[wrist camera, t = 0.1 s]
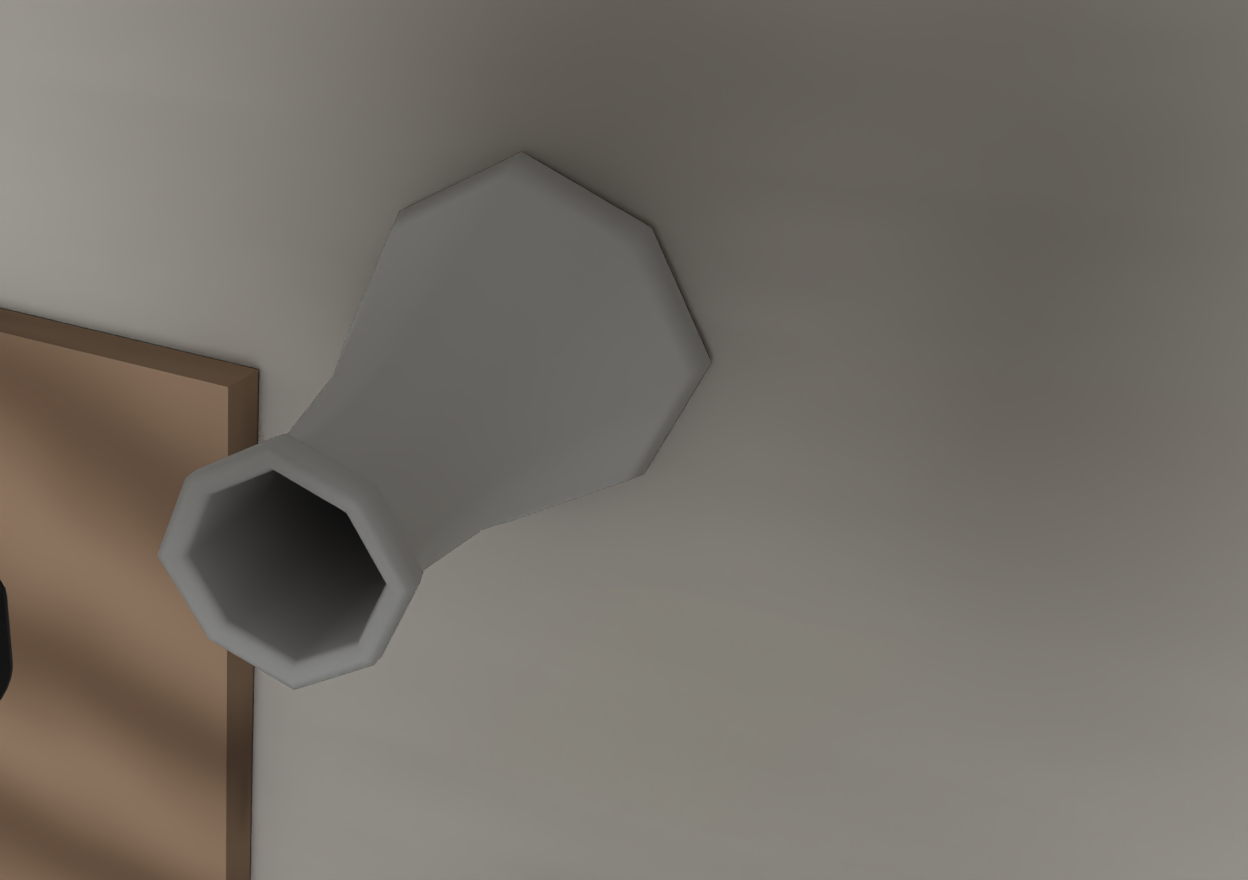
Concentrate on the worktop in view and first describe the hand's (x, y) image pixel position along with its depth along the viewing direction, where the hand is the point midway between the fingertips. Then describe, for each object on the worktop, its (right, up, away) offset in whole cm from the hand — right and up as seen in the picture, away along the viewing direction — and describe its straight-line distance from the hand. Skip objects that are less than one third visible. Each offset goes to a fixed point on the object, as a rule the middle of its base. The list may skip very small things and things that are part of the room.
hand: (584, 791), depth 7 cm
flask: (-2, +4, +15) cm, 16 cm away
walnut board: (-15, -3, +21) cm, 26 cm away
